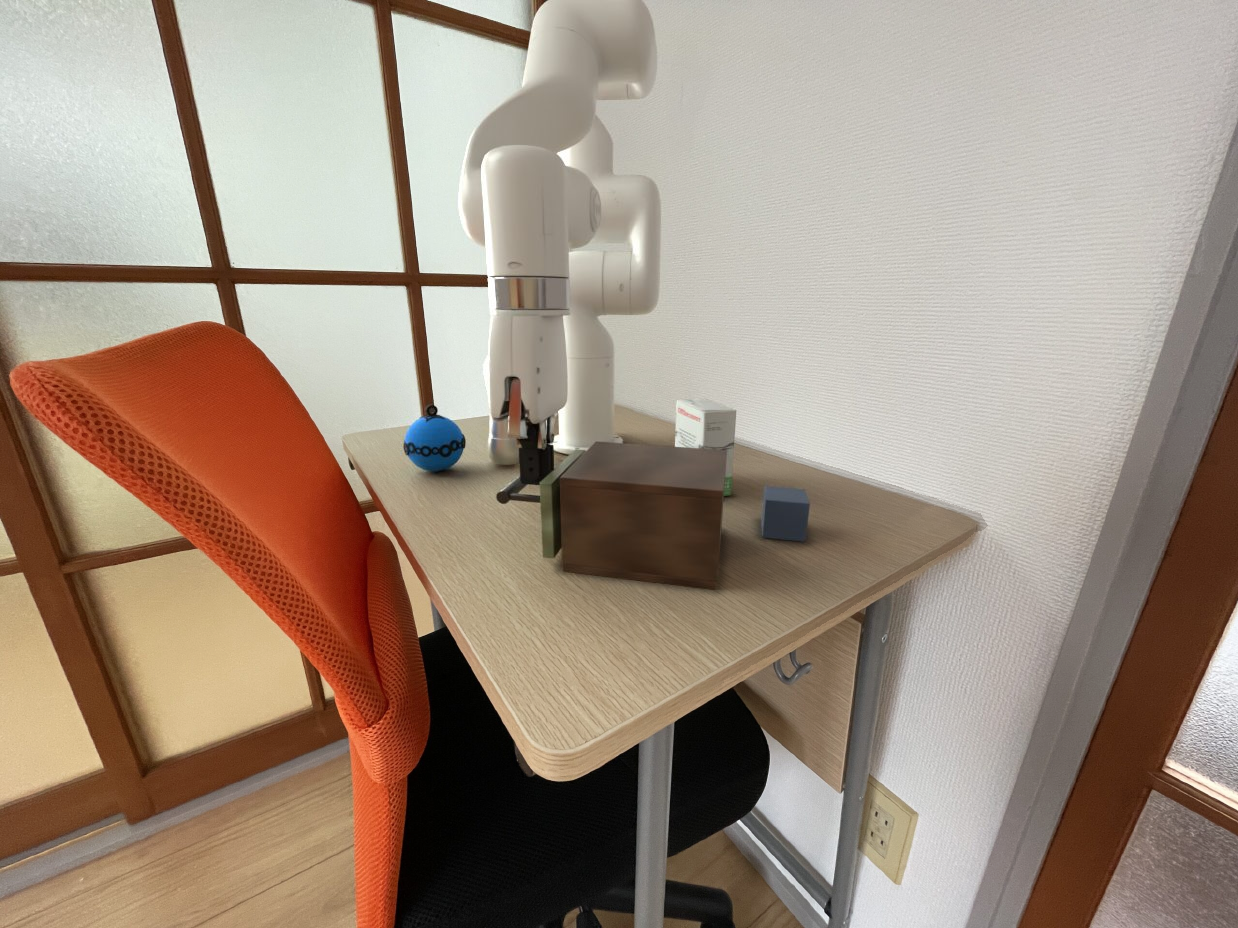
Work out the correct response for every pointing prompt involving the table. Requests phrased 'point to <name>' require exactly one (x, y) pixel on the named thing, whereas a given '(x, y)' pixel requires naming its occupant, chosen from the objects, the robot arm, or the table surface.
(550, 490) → the drawer
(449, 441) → the ornament
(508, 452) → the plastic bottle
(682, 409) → the ink box
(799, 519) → the block
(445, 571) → the table surface
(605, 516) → the cabinet
